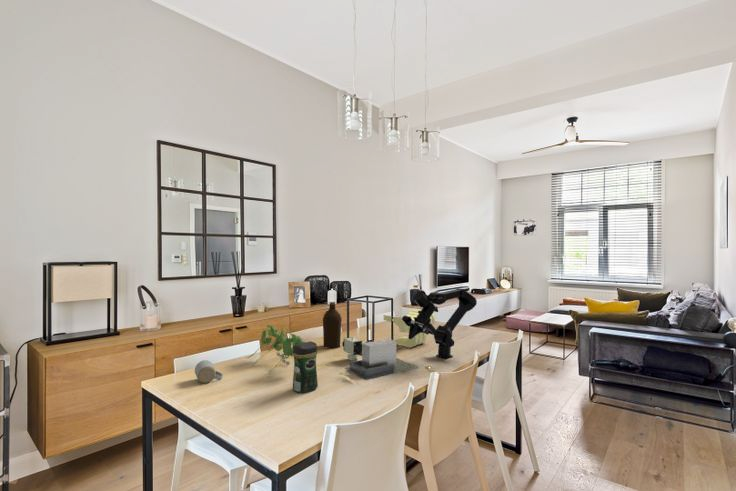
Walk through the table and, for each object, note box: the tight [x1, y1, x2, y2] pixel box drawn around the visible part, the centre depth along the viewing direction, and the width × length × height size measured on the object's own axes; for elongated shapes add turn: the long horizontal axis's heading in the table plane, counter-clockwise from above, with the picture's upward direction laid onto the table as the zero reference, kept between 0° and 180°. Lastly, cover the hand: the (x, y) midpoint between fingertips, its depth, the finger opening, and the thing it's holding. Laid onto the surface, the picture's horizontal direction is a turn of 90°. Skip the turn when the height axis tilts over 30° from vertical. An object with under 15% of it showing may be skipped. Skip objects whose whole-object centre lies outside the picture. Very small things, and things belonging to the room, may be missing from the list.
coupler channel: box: [344, 357, 420, 381], centre depth 170 cm, size 30×18×4 cm, turn 123°
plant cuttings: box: [246, 324, 306, 373], centre depth 173 cm, size 35×17×22 cm
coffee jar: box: [292, 340, 318, 394], centre depth 147 cm, size 10×8×19 cm
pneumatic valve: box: [341, 337, 363, 362], centre depth 183 cm, size 6×12×12 cm, turn 39°
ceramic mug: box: [194, 359, 224, 384], centre depth 156 cm, size 11×8×8 cm
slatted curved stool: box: [383, 308, 436, 348], centre depth 217 cm, size 30×16×18 cm, turn 139°
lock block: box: [361, 338, 397, 369], centre depth 170 cm, size 16×6×12 cm, turn 123°
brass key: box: [424, 365, 435, 373], centre depth 169 cm, size 8×3×1 cm, turn 11°
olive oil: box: [322, 301, 343, 349], centre depth 210 cm, size 11×11×25 cm
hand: (409, 338), depth 179 cm, fingers closed
